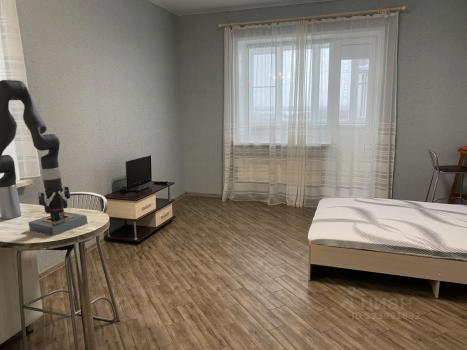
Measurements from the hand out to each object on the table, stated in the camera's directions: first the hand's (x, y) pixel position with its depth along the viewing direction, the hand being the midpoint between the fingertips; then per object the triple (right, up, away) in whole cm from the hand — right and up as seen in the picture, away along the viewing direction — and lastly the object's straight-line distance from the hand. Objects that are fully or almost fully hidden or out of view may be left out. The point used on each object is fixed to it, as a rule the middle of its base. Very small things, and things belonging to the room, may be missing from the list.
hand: (56, 210), depth 164 cm
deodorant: (0, -8, +2) cm, 8 cm away
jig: (0, -8, +2) cm, 8 cm away
